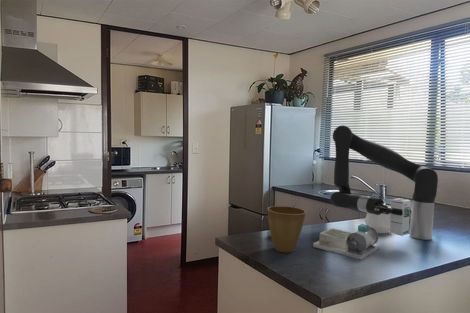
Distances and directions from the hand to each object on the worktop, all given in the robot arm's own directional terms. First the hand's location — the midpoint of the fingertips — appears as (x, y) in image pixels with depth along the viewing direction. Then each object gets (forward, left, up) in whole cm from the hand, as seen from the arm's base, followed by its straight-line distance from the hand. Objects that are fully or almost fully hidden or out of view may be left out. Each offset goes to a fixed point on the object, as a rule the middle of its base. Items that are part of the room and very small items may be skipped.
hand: (406, 212), depth 143 cm
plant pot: (+38, -34, -16) cm, 54 cm away
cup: (-23, -18, -16) cm, 33 cm away
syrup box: (-1, -2, -10) cm, 10 cm away
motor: (+16, -18, -16) cm, 29 cm away
